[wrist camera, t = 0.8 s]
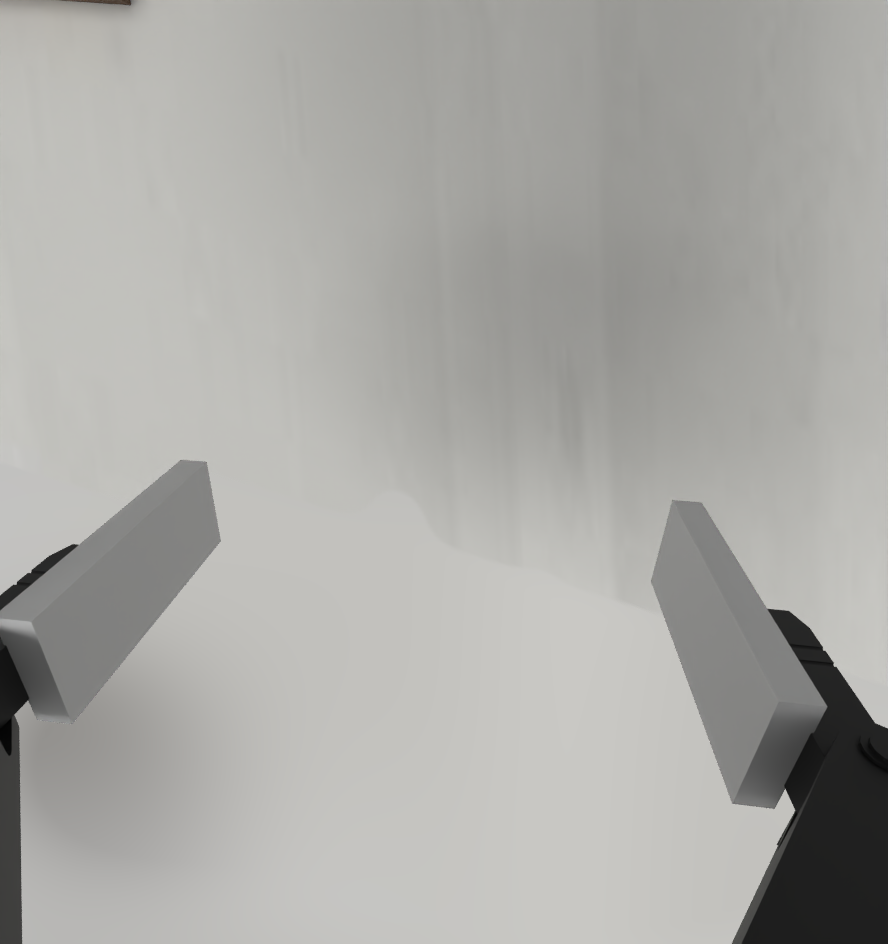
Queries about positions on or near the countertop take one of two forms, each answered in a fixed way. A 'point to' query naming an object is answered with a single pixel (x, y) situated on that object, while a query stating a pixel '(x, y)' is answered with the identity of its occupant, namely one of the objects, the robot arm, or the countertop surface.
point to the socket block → (105, 1)
